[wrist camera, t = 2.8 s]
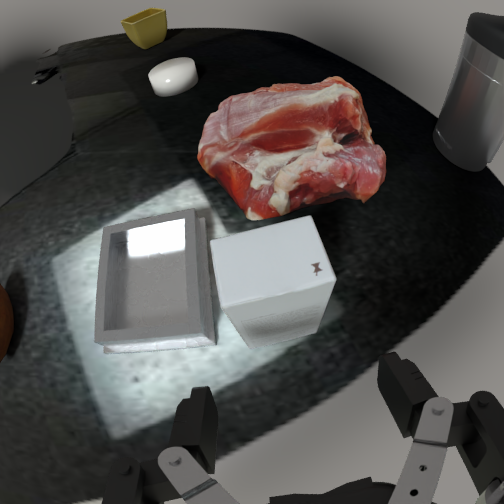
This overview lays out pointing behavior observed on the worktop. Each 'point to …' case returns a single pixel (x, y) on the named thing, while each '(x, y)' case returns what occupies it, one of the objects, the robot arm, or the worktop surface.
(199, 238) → the tray
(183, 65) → the white domed puck
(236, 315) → the skincare box
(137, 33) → the flower pot
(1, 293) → the potato
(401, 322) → the worktop surface
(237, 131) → the meat
